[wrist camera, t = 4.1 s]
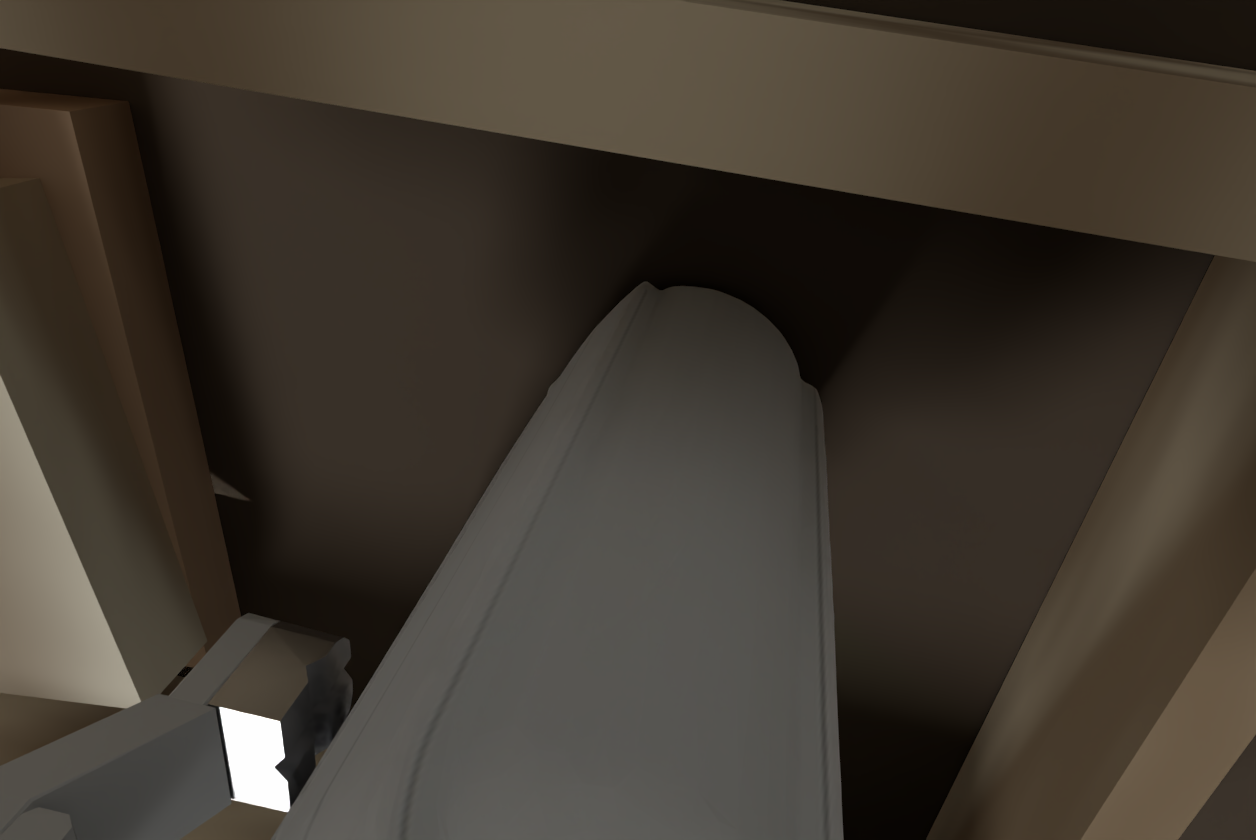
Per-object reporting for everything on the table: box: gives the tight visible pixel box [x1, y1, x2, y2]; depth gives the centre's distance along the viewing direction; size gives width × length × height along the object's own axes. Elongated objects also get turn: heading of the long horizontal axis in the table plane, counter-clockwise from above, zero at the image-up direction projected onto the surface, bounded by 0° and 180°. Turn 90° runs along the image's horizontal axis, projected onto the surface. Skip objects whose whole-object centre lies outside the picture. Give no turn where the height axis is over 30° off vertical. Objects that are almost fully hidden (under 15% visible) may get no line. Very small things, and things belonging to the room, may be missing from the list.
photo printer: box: [271, 282, 844, 840], centre depth 11 cm, size 10×4×12 cm, turn 150°
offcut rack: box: [0, 0, 1256, 840], centre depth 14 cm, size 26×18×6 cm
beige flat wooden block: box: [0, 89, 241, 668], centre depth 17 cm, size 5×12×2 cm, turn 177°
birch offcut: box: [0, 178, 207, 708], centre depth 15 cm, size 4×10×2 cm, turn 2°
